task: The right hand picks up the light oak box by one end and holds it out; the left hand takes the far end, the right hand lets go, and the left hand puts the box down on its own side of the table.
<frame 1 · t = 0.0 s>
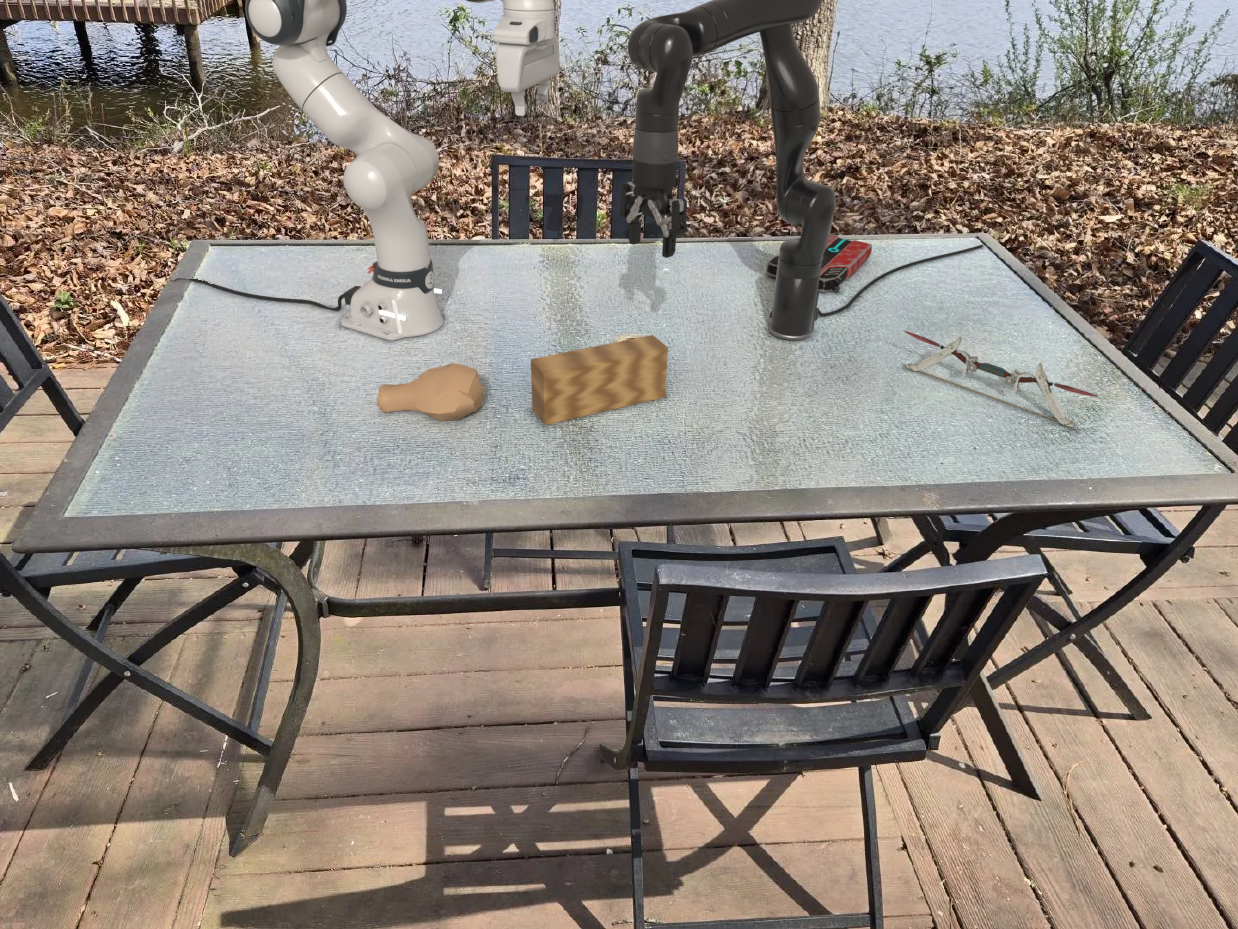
left hand: (531, 109, 161), 48 cm above the table, tool pointing down, fingers open, 8 cm apart
right hand: (650, 249, 155), 29 cm above the table, tool pointing down, fingers open, 8 cm apart
squash: (432, 412, 164), on the table
bow: (985, 396, 174), on the table
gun: (820, 269, 229), on the table
box: (599, 403, 168), on the table
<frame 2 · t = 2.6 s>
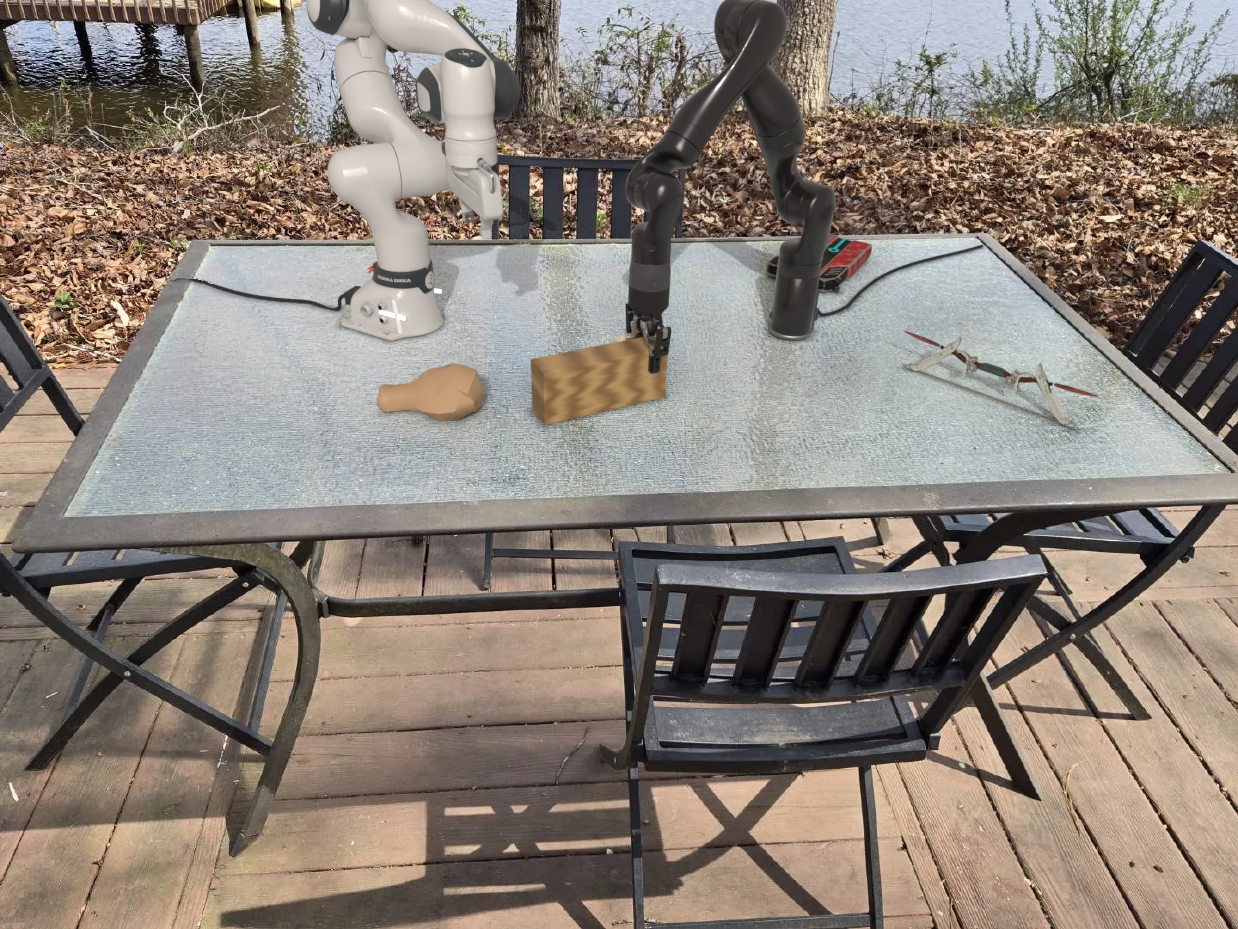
left hand: (477, 229, 161), 29 cm above the table, tool pointing down, fingers open, 8 cm apart
right hand: (645, 364, 168), 6 cm above the table, tool pointing down, fingers closed on box, 6 cm apart
box: (599, 403, 168), on the table, touching right hand
everything else where it was.
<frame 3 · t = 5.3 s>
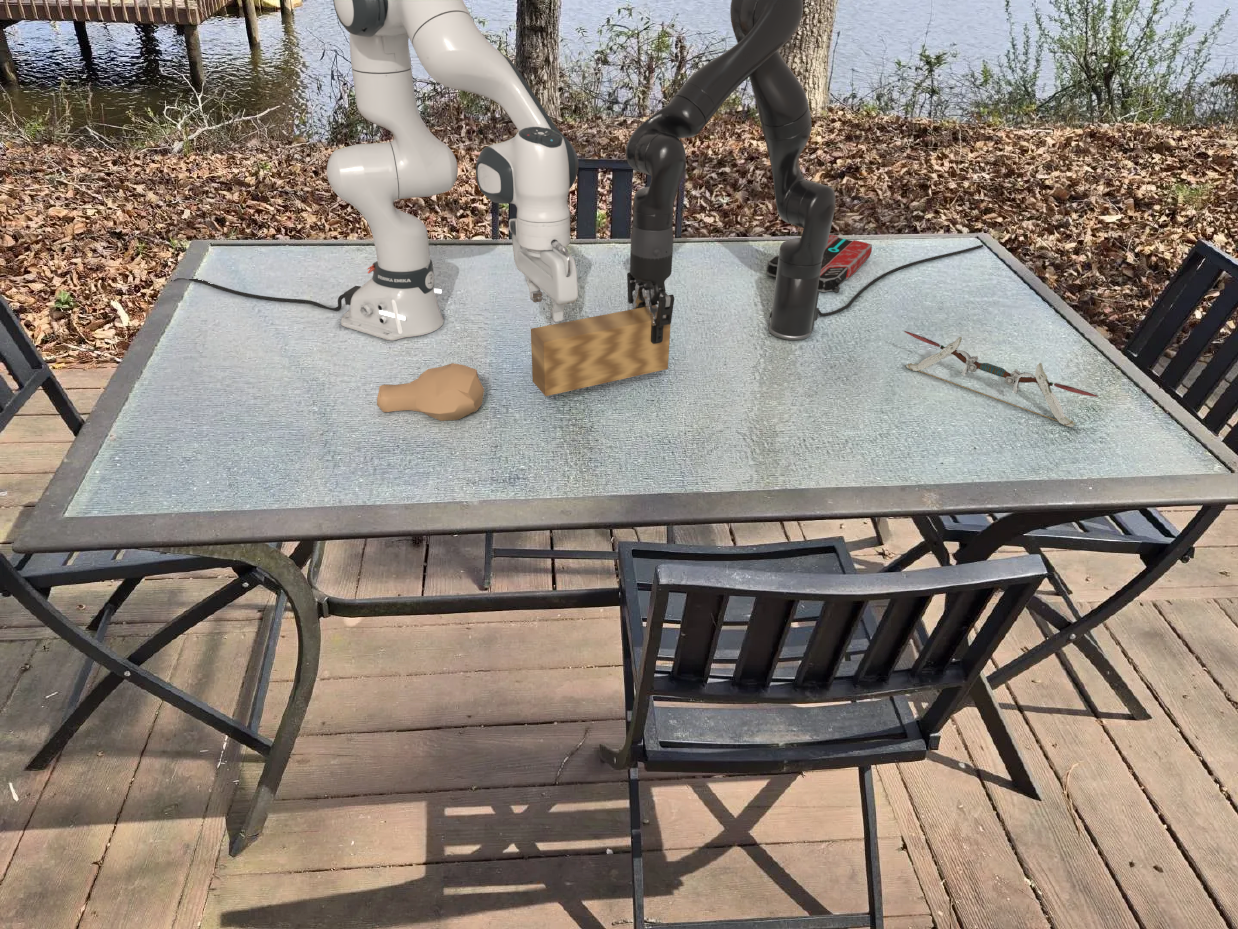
left hand: (546, 310, 154), 21 cm above the table, tool pointing down, fingers open, 8 cm apart
right hand: (647, 334, 165), 13 cm above the table, tool pointing down, fingers closed on box, 6 cm apart
box: (601, 375, 165), point 6 cm above the table, touching right hand
everything else where it was.
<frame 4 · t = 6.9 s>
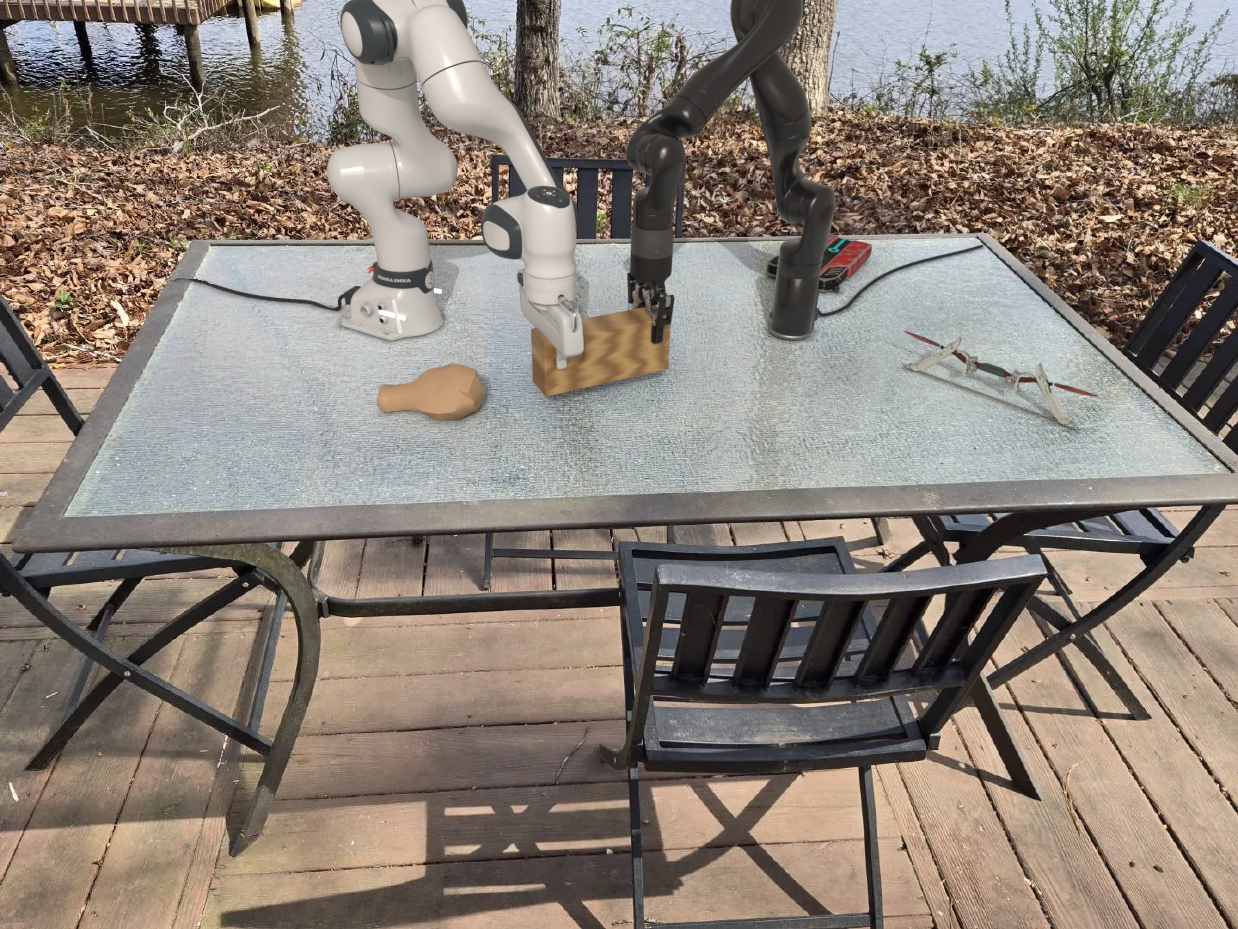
left hand: (552, 358, 158), 12 cm above the table, tool pointing down, fingers closed on box, 6 cm apart
right hand: (648, 335, 165), 13 cm above the table, tool pointing down, fingers closed on box, 6 cm apart
box: (601, 375, 165), point 6 cm above the table, touching left hand, right hand
everything else where it was.
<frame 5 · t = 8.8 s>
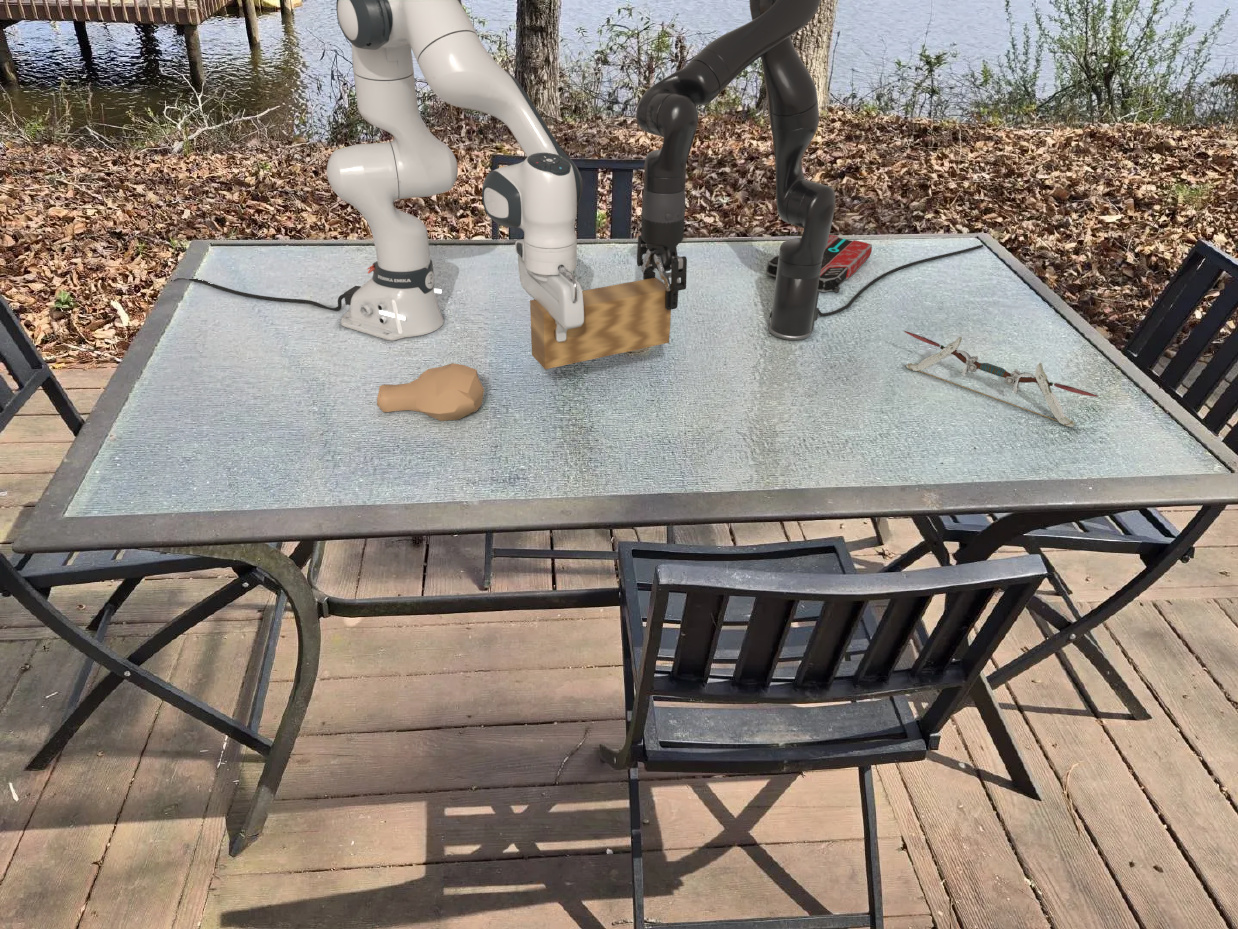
left hand: (551, 330, 155), 17 cm above the table, tool pointing down, fingers closed on box, 6 cm apart
right hand: (659, 299, 162), 19 cm above the table, tool pointing down, fingers open, 8 cm apart
box: (601, 348, 162), point 11 cm above the table, touching left hand
everything else where it was.
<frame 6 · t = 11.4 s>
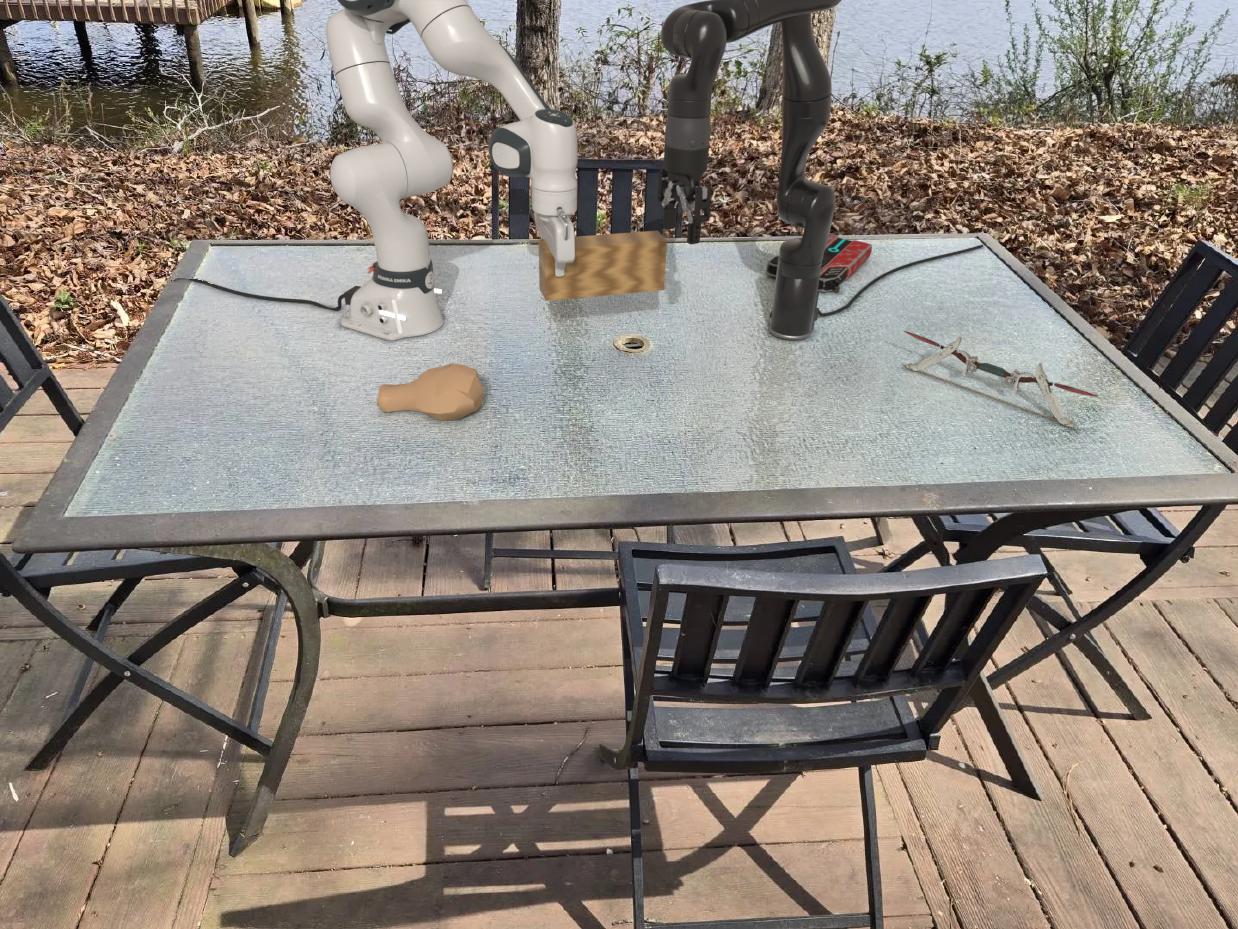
left hand: (554, 268, 178), 18 cm above the table, tool pointing down, fingers closed on box, 6 cm apart
right hand: (680, 235, 157), 31 cm above the table, tool pointing down, fingers open, 8 cm apart
box: (602, 289, 183), point 12 cm above the table, touching left hand
everything else where it was.
when the left hand's fingers open (6 cm above the table, at t = 16.4 s): box stays where it is, on the table.
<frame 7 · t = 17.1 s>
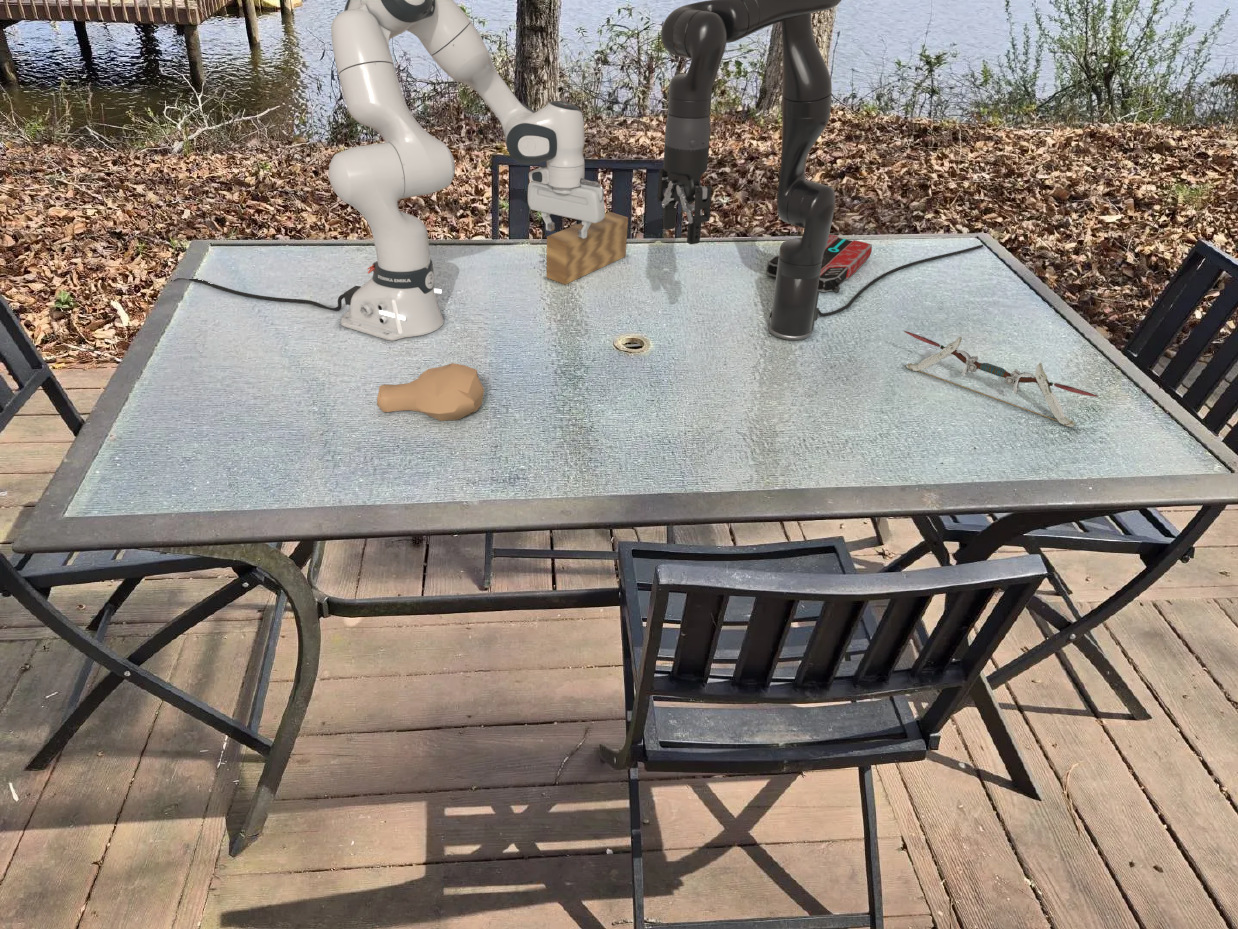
left hand: (566, 233, 212), 12 cm above the table, tool pointing down, fingers open, 8 cm apart
right hand: (680, 235, 157), 31 cm above the table, tool pointing down, fingers open, 8 cm apart
box: (587, 266, 227), on the table
everything else where it was.
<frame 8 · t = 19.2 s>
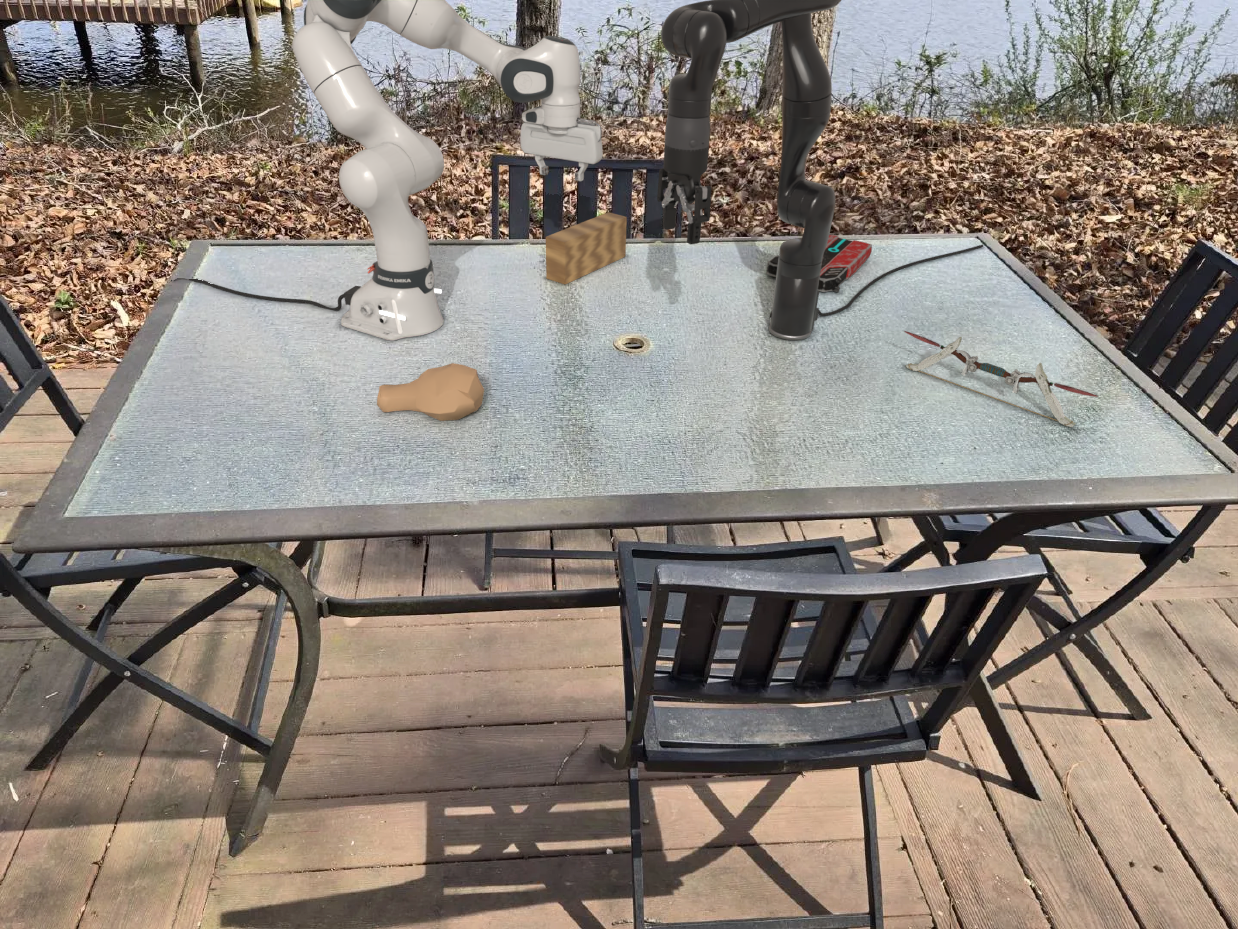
left hand: (561, 177, 206), 25 cm above the table, tool pointing down, fingers open, 8 cm apart
right hand: (680, 235, 157), 31 cm above the table, tool pointing down, fingers open, 8 cm apart
nothing on the table moved.
at the end: box inside the target area (9.7 cm from its centre), on the table; the left hand is holding nothing; the right hand is holding nothing; box at rest at the end (0.0 cm/s) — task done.
